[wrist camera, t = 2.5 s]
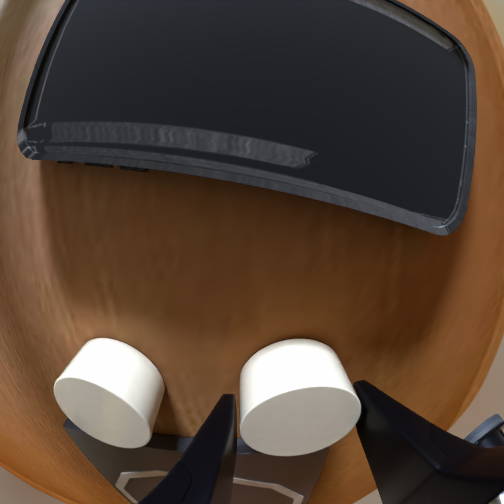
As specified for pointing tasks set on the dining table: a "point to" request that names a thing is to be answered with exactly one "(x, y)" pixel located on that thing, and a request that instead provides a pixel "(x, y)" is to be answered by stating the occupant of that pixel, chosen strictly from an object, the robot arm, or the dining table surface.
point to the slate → (172, 447)
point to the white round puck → (295, 399)
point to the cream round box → (111, 393)
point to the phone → (264, 99)
